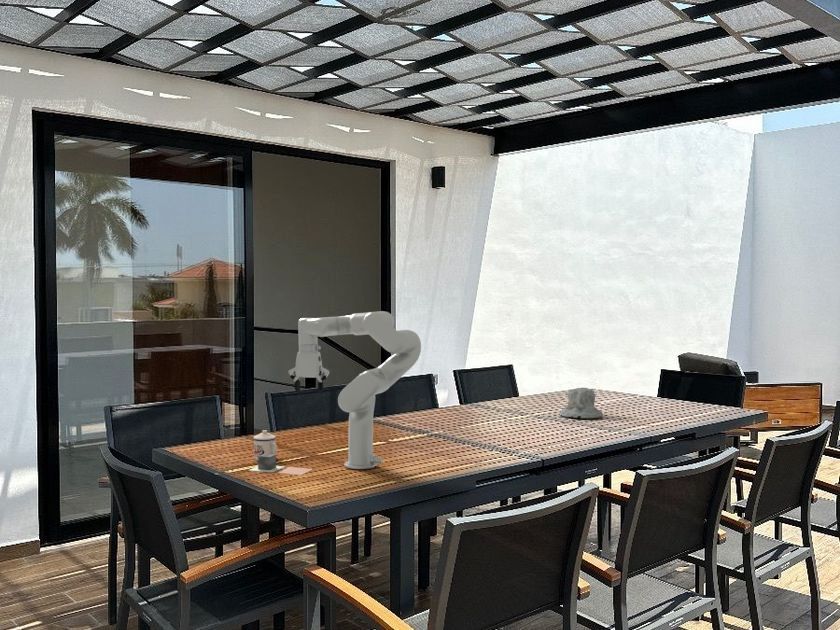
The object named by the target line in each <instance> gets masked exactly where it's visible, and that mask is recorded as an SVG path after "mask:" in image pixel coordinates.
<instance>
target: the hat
mask: <svg viewBox="0 0 840 630" xmlns="http://www.w3.org/2000/svg"><path fill="white" fill-rule="evenodd" d="M567 398H568V404H567V405H566V406H564V408H562V409H561V411H560V412H559V414H560V415H562V416H561V417H565V418H567V417H568V418H575V419H576V418H580V419H596V418H602V417H604V416H603V415H604V413H603V412H602V411H601V410H599V409H598V408H597V407H596V406H595V403H596V401H595V400H596V394H595V392H594V390H593V389H591V388H587V387H577V388H574V389H573V388H571V389H569V390H568V391H567ZM560 415H559V416H560Z"/></svg>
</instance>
